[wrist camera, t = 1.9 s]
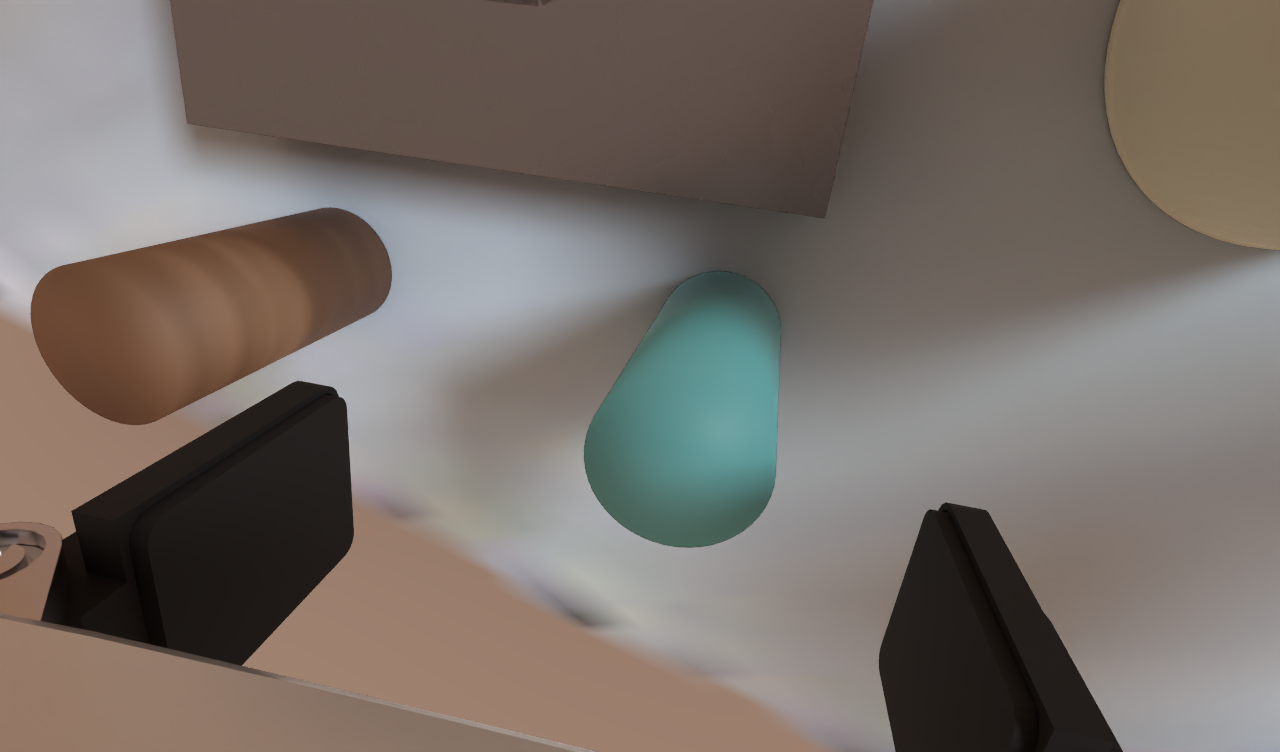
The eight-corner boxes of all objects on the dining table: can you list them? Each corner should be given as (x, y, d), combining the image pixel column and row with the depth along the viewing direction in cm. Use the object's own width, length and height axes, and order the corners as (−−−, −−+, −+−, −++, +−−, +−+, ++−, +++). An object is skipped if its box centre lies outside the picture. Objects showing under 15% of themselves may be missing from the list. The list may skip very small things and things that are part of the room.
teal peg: (792, 282, 19) (794, 397, 11) (768, 397, 20) (755, 564, 13) (667, 262, 19) (592, 359, 12) (652, 375, 20) (576, 525, 13)
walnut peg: (390, 216, 20) (166, 279, 13) (393, 326, 22) (192, 439, 14) (285, 199, 21) (12, 251, 13) (294, 308, 22) (52, 407, 15)
